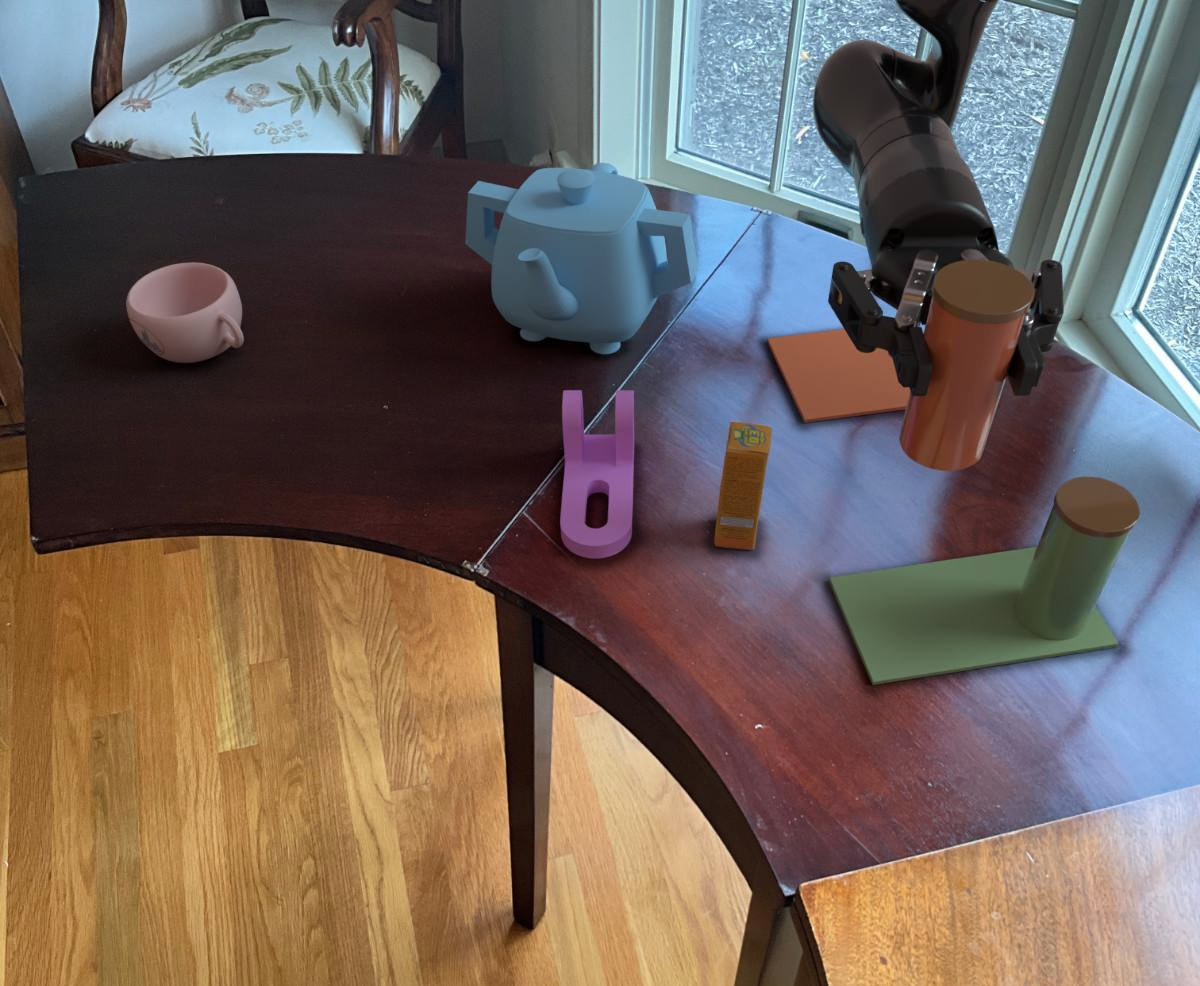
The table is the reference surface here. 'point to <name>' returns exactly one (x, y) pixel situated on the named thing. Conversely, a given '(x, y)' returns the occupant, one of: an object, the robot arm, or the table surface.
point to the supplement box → (742, 485)
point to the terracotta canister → (965, 361)
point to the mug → (186, 312)
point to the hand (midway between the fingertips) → (975, 382)
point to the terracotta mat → (837, 376)
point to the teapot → (579, 253)
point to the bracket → (597, 477)
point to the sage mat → (949, 617)
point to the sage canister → (1075, 556)
